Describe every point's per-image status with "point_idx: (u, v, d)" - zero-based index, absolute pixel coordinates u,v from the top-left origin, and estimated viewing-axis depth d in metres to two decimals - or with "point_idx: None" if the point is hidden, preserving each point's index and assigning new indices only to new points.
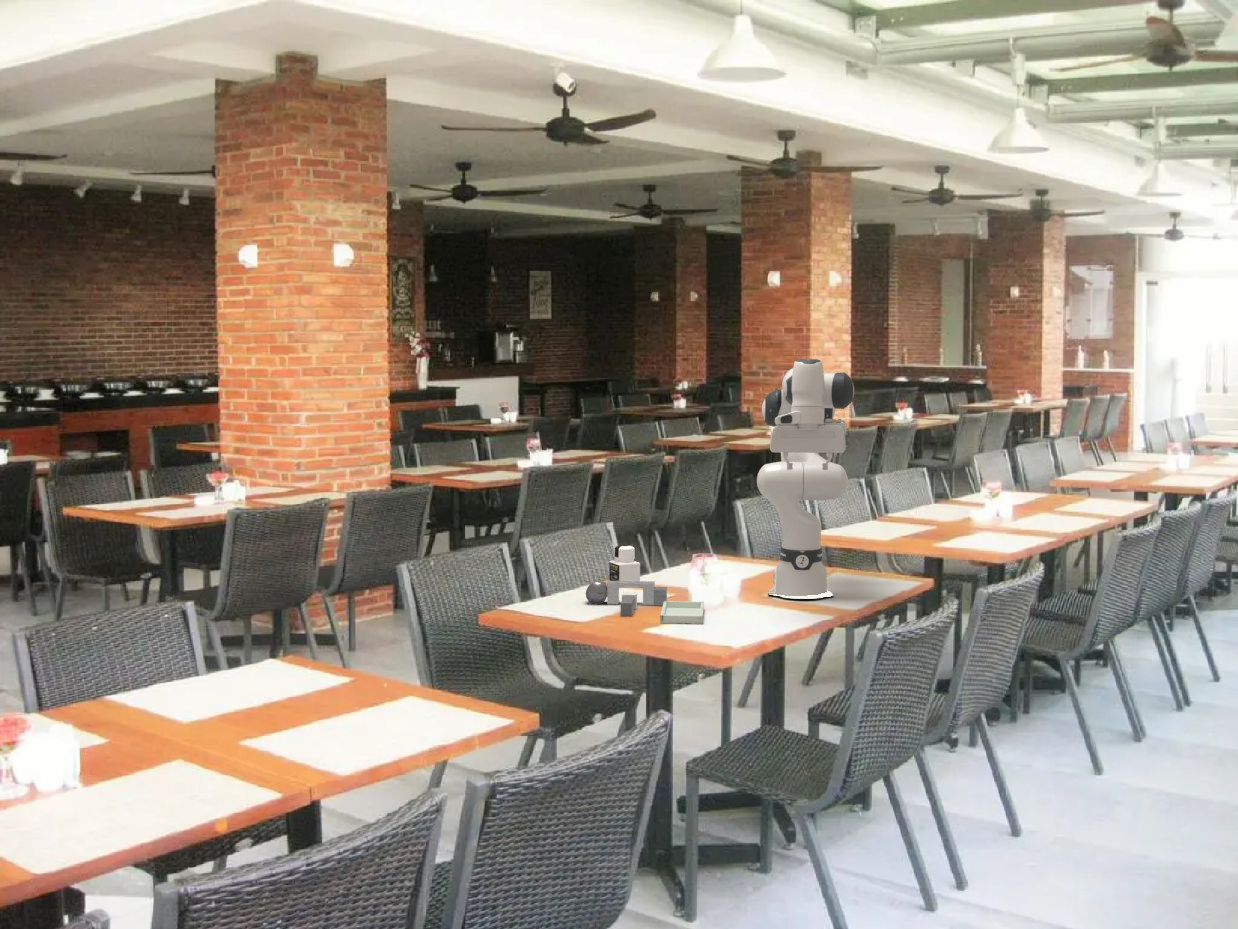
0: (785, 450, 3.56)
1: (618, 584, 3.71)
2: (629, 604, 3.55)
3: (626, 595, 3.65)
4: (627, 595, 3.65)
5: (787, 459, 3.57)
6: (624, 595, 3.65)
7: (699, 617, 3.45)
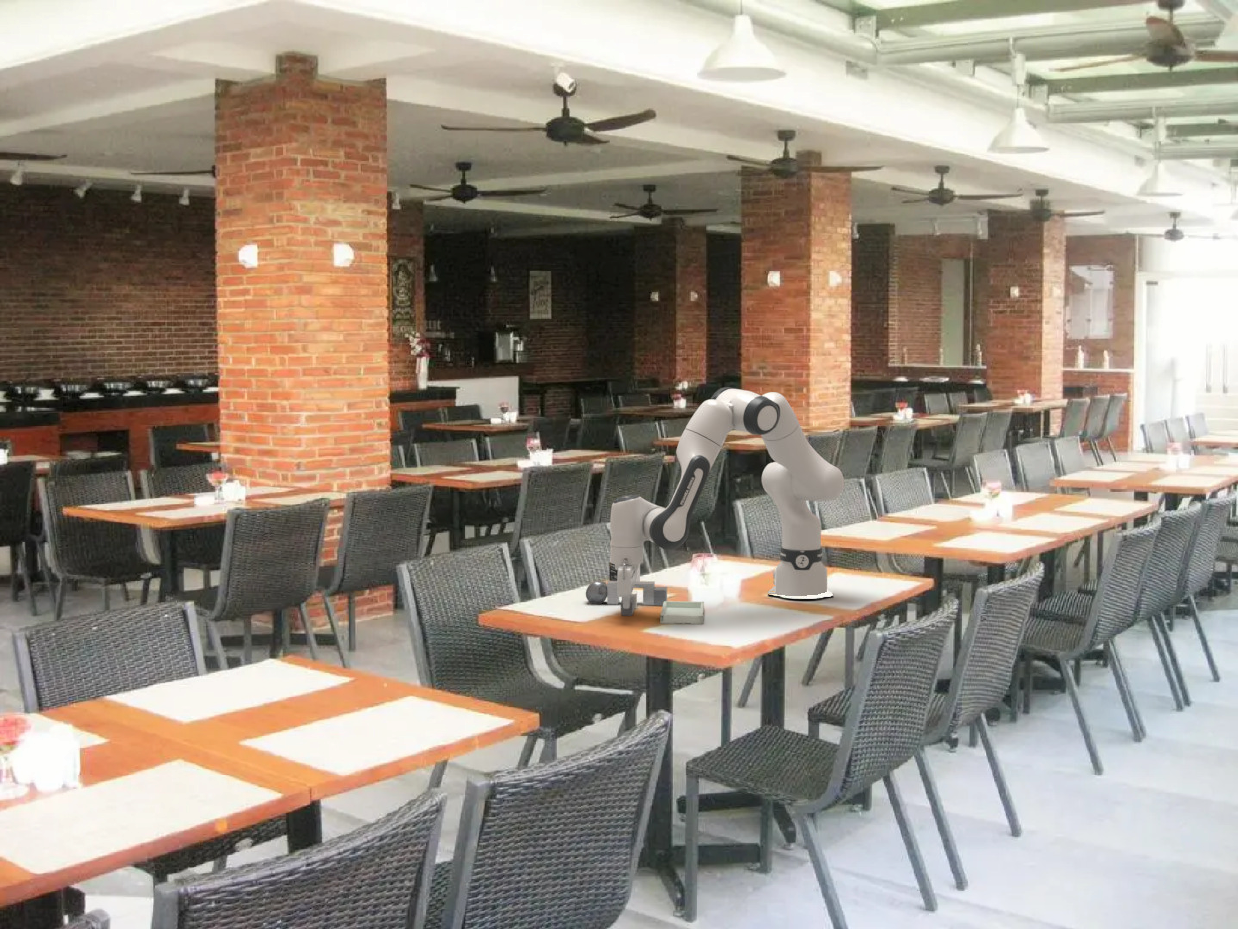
0: None
1: None
2: None
3: None
4: None
5: None
6: None
7: (699, 617, 3.45)
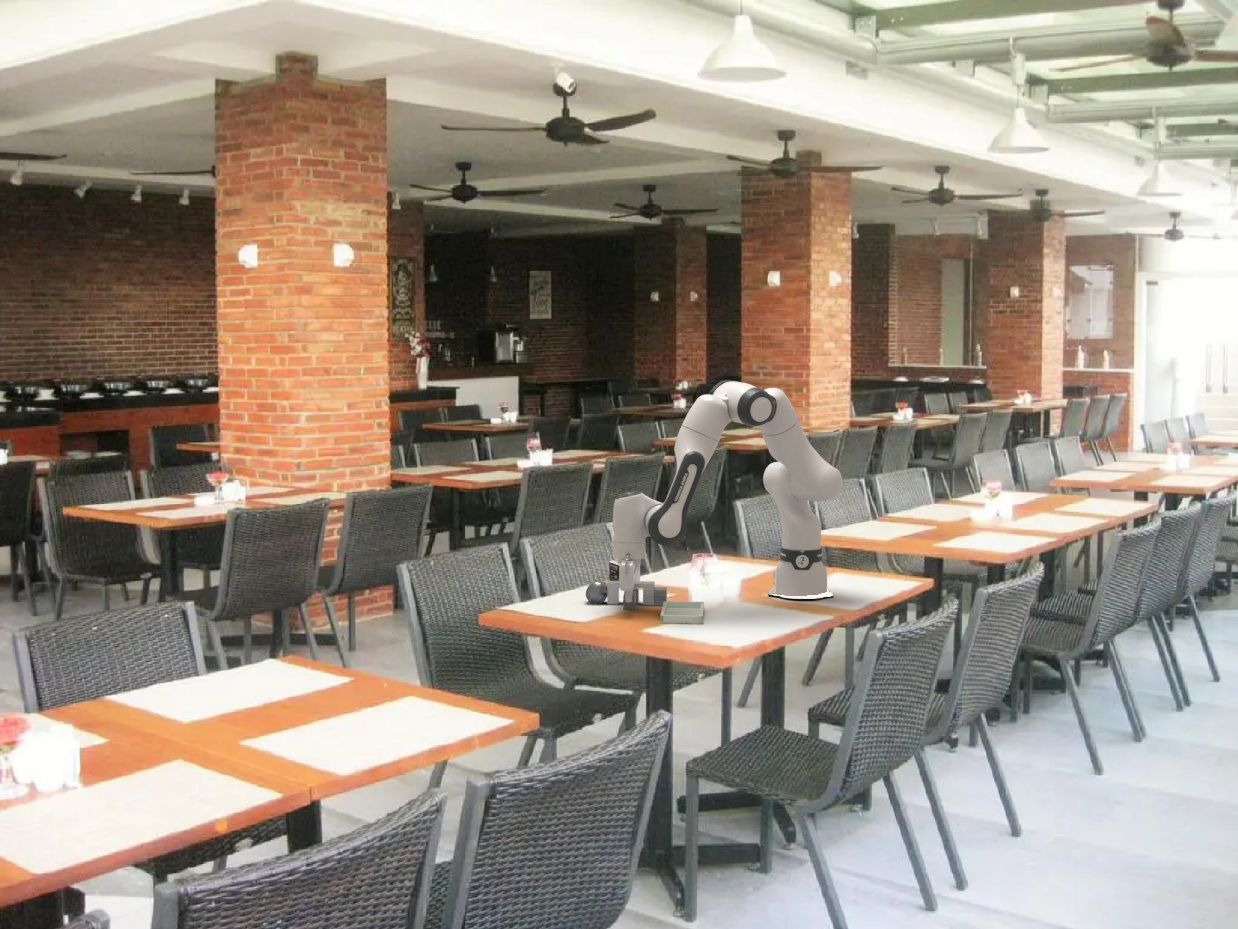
0: None
1: (618, 584, 3.71)
2: None
3: None
4: None
5: None
6: None
7: (699, 617, 3.45)
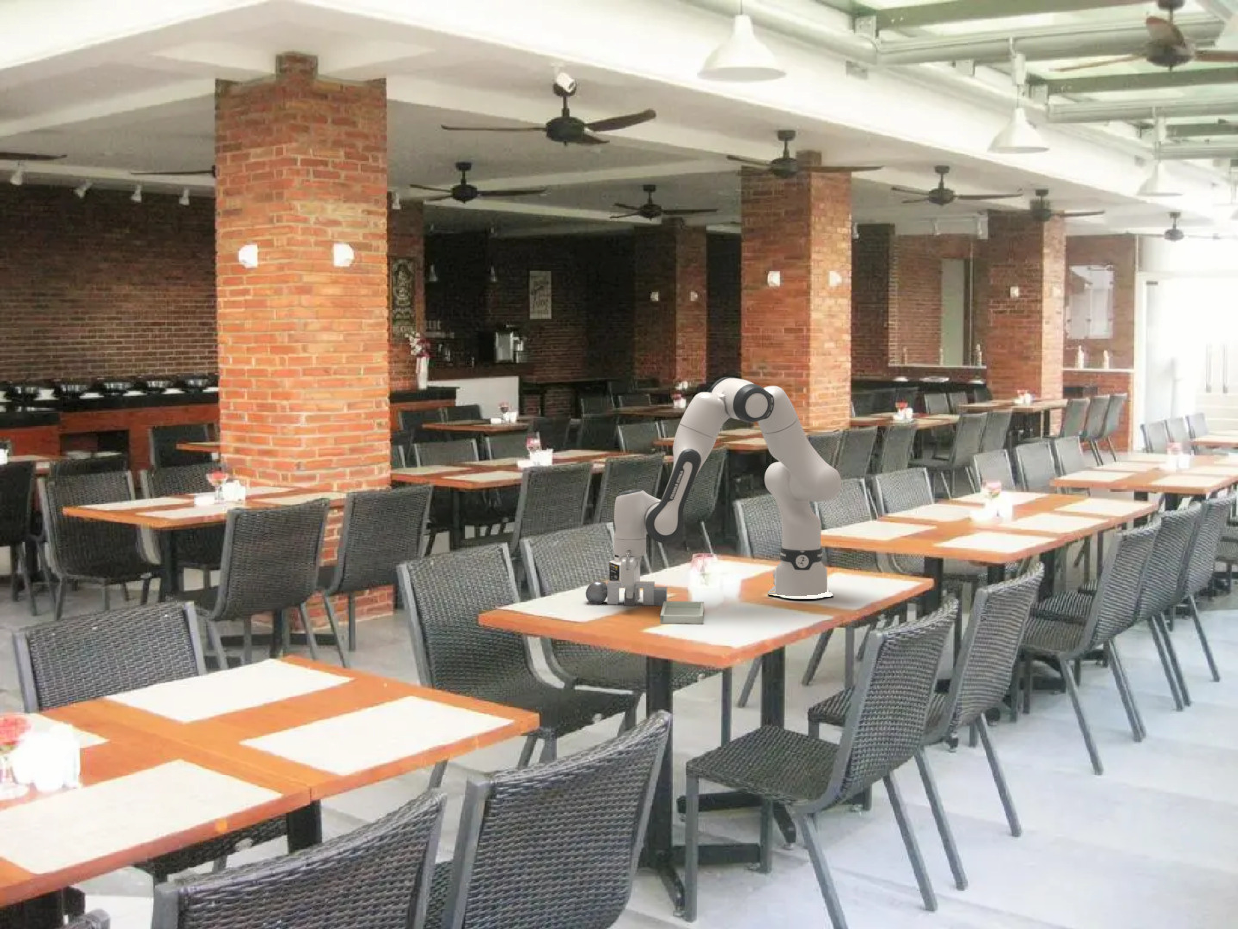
0: None
1: (618, 584, 3.71)
2: None
3: None
4: None
5: None
6: None
7: (699, 617, 3.45)
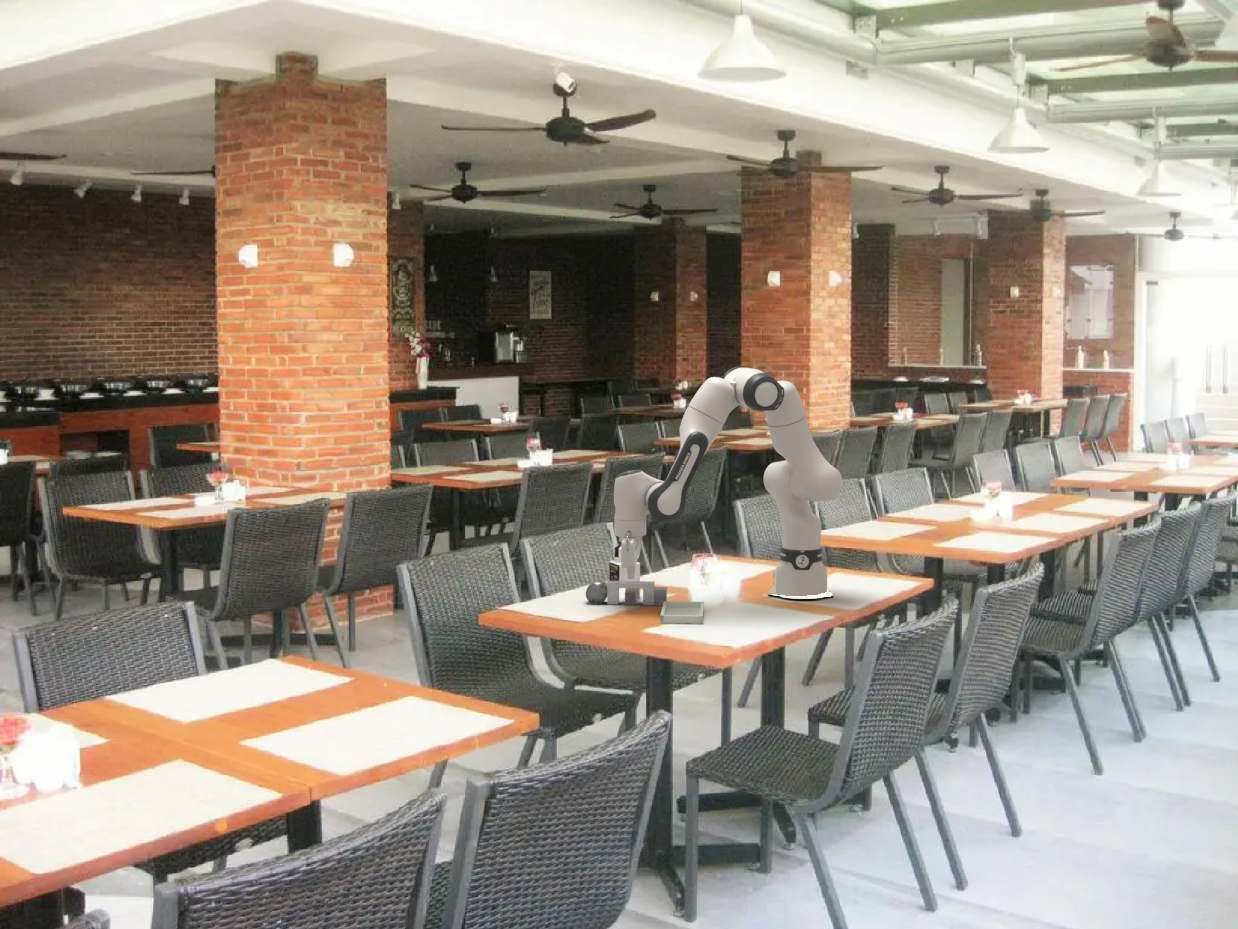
0: None
1: (618, 584, 3.71)
2: (633, 594, 3.69)
3: None
4: None
5: None
6: None
7: (699, 617, 3.45)
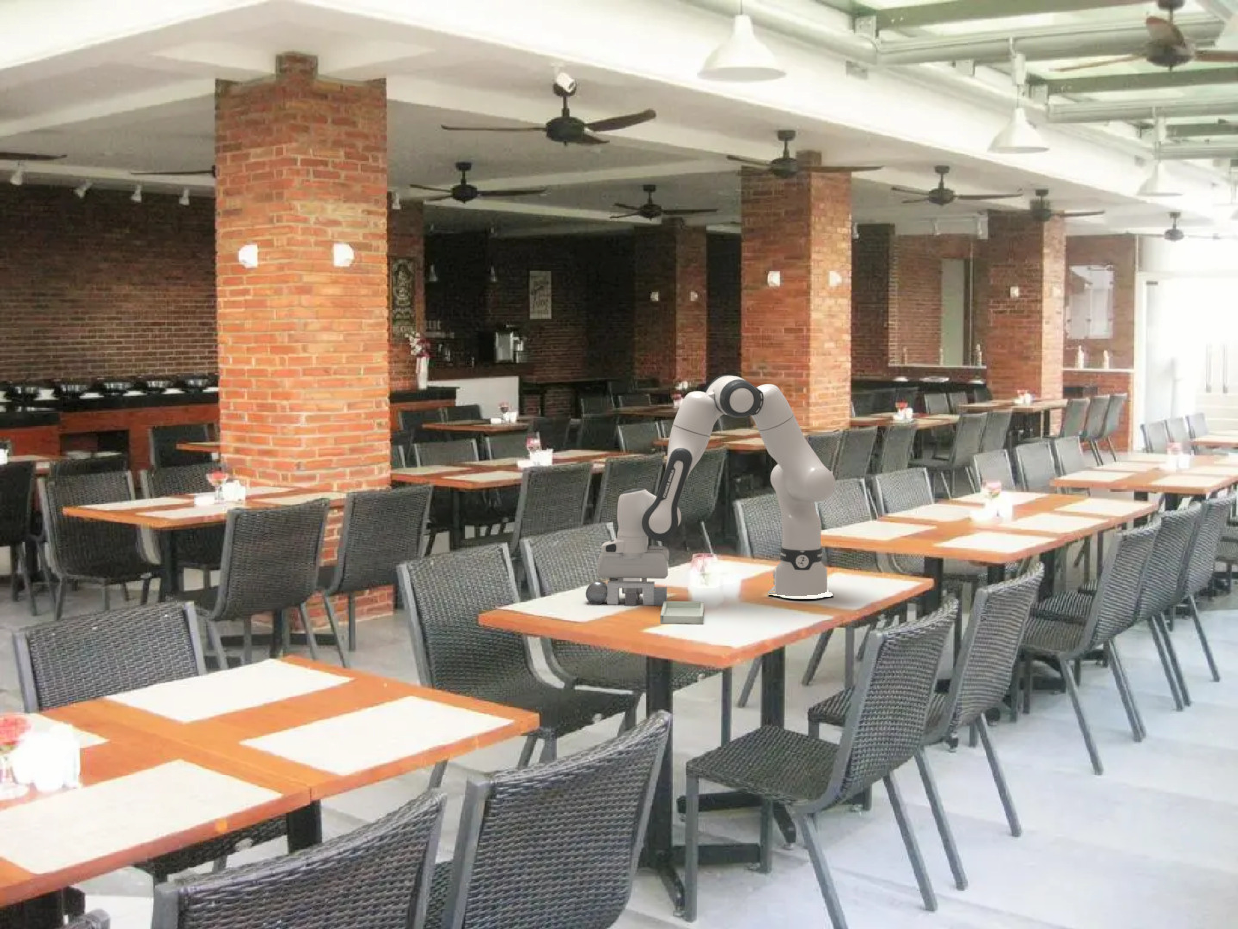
0: (611, 576, 3.77)
1: (618, 584, 3.71)
2: (633, 593, 3.69)
3: None
4: None
5: None
6: None
7: (699, 617, 3.45)
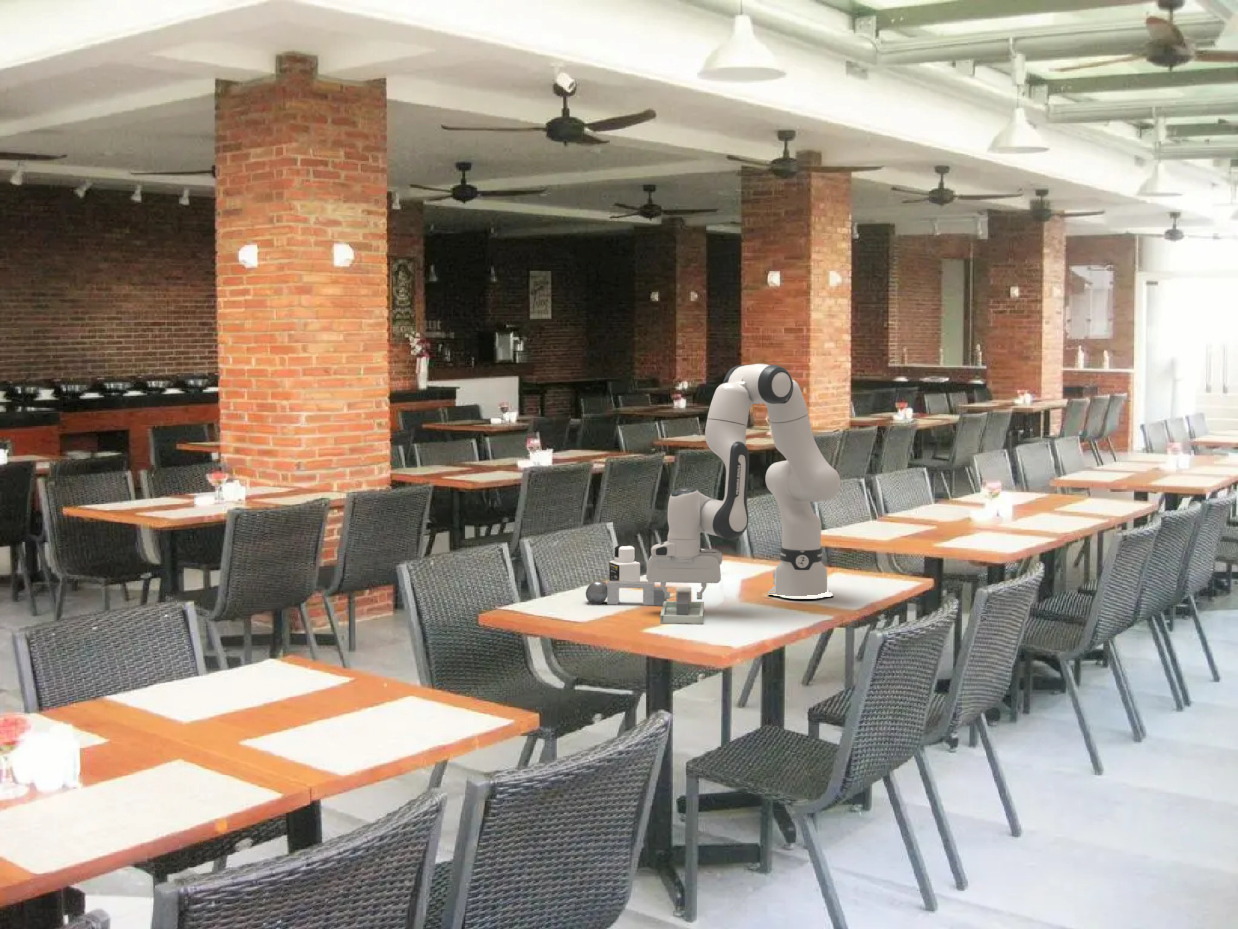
0: (661, 580, 3.59)
1: (618, 584, 3.71)
2: (685, 605, 3.51)
3: (681, 591, 3.61)
4: (682, 591, 3.61)
5: (664, 589, 3.60)
6: (679, 591, 3.61)
7: (699, 617, 3.45)
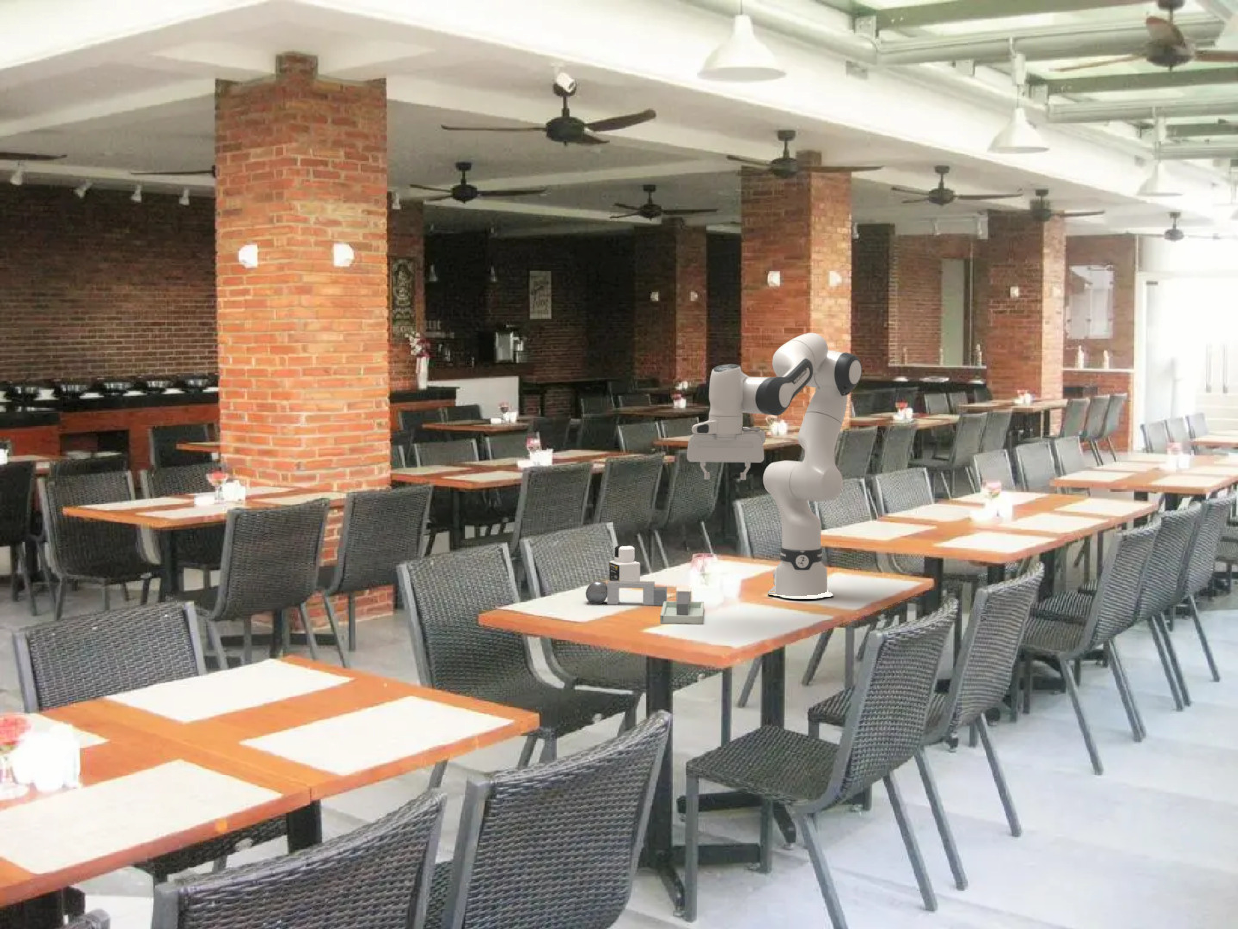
0: (702, 460, 3.47)
1: (618, 584, 3.71)
2: (685, 605, 3.51)
3: (681, 591, 3.61)
4: (682, 591, 3.61)
5: (704, 469, 3.48)
6: (679, 591, 3.61)
7: (699, 617, 3.45)
